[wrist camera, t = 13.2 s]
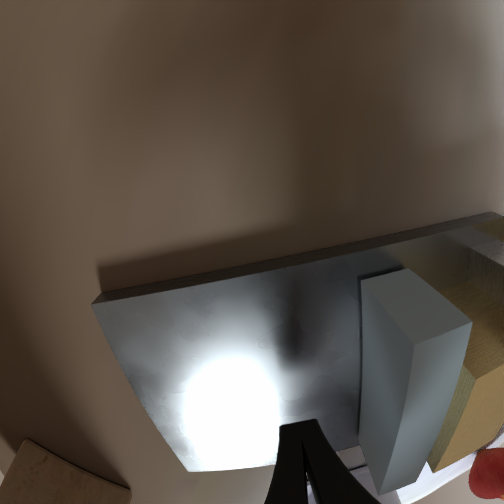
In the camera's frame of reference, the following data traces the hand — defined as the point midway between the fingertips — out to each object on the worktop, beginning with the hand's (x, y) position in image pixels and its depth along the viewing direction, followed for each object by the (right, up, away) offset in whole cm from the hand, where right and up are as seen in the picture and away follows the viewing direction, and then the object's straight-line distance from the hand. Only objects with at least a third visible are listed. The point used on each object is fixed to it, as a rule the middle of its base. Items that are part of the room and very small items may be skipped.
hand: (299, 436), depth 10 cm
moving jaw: (+4, +2, +2) cm, 5 cm away
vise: (+2, +1, +3) cm, 4 cm away
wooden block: (-18, -14, +8) cm, 24 cm away
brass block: (+7, +2, +2) cm, 7 cm away
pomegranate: (+23, -15, +10) cm, 29 cm away
